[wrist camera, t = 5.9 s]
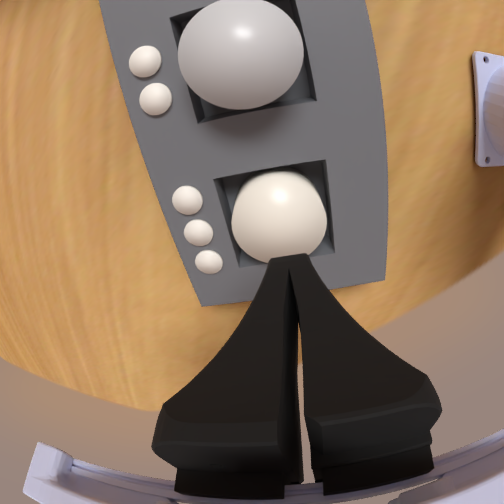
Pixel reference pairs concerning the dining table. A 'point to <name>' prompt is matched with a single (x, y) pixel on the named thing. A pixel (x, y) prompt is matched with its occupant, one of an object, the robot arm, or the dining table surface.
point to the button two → (240, 53)
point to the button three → (278, 214)
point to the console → (260, 141)
